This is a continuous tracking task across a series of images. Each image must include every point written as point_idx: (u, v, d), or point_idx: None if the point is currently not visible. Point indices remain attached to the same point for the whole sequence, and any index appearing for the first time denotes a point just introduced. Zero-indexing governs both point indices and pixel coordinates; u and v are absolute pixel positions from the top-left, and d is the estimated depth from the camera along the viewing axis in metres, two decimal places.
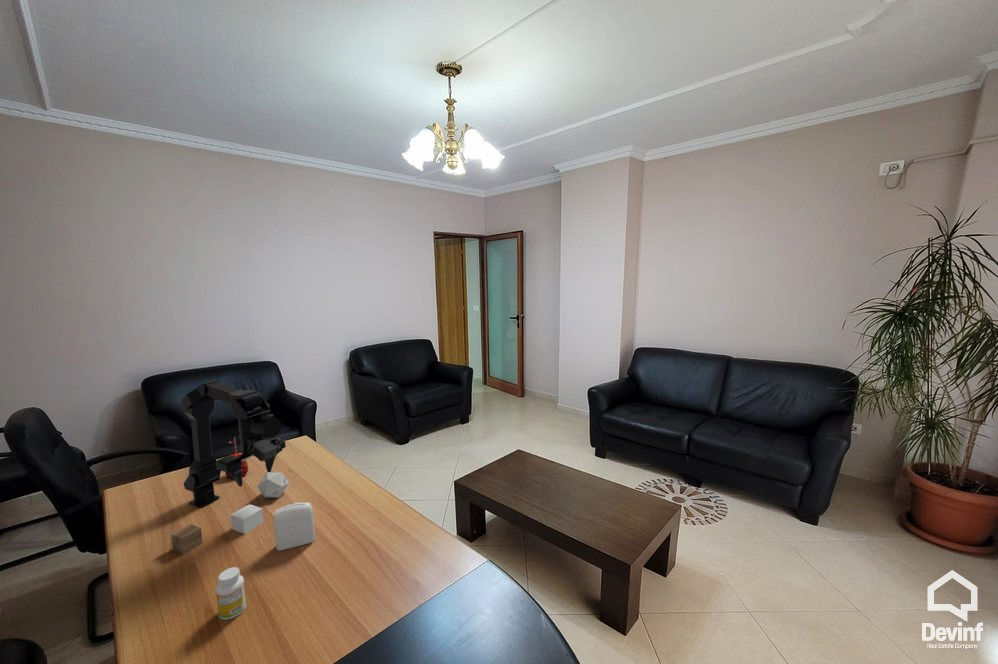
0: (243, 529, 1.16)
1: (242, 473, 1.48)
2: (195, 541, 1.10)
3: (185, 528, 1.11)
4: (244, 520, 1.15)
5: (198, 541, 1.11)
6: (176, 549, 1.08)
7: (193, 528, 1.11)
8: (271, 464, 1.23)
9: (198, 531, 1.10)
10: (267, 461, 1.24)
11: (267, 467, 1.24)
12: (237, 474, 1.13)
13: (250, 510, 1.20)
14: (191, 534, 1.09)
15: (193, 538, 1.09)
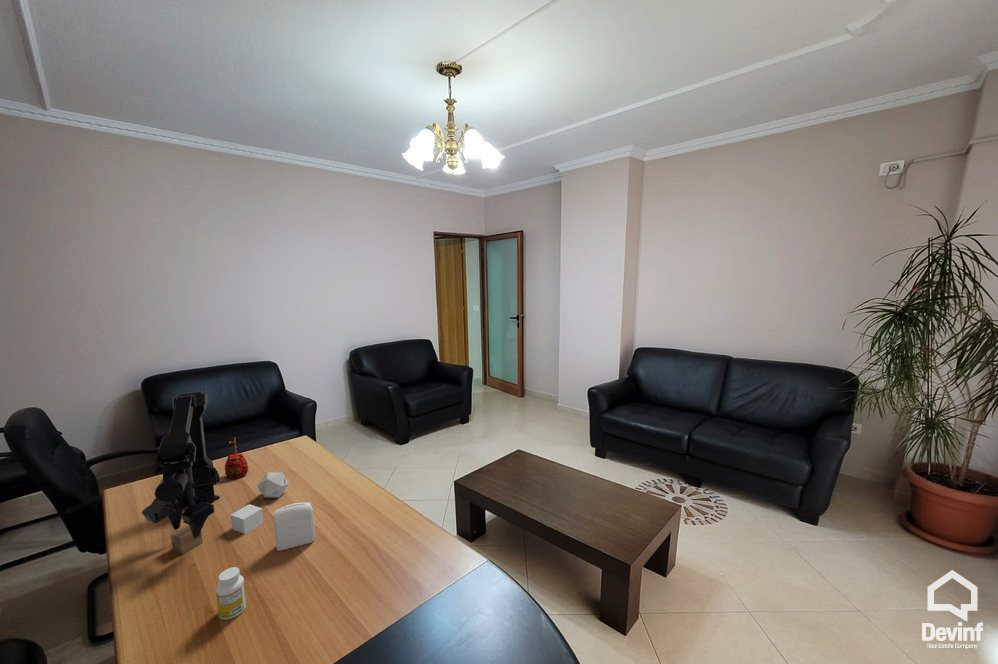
0: (243, 529, 1.16)
1: (242, 473, 1.48)
2: (195, 541, 1.10)
3: (185, 528, 1.11)
4: (244, 520, 1.15)
5: (198, 541, 1.11)
6: (176, 549, 1.08)
7: None
8: (191, 531, 1.07)
9: None
10: None
11: None
12: None
13: (250, 510, 1.20)
14: (191, 534, 1.09)
15: (193, 538, 1.09)
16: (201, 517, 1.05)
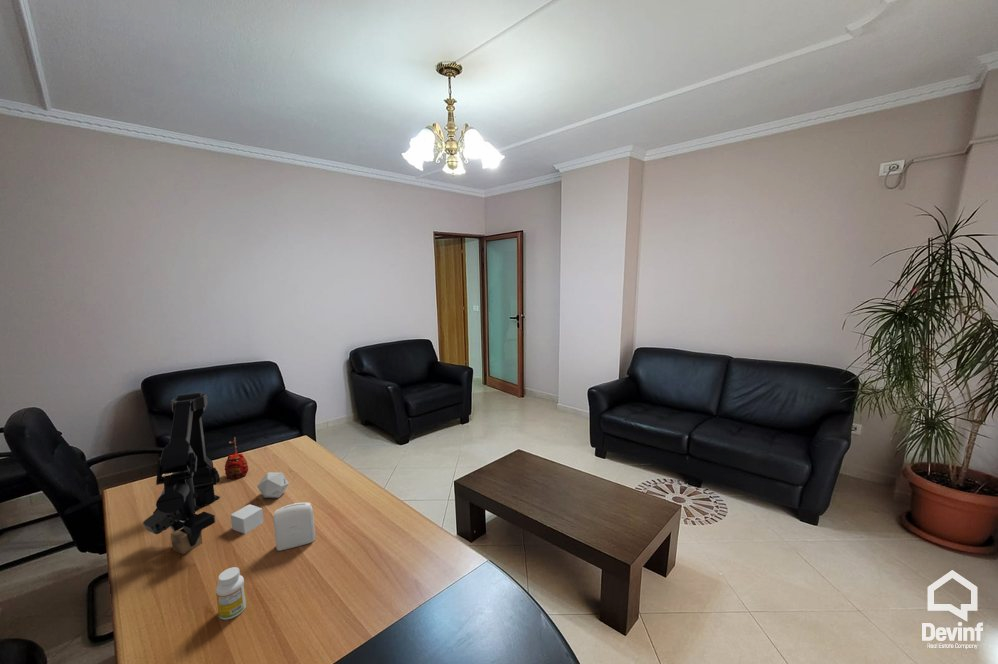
0: (243, 529, 1.16)
1: (242, 473, 1.48)
2: None
3: None
4: (244, 520, 1.15)
5: (198, 541, 1.11)
6: (176, 549, 1.08)
7: None
8: (188, 539, 1.08)
9: None
10: None
11: None
12: (171, 527, 1.10)
13: (250, 510, 1.20)
14: None
15: None
16: (202, 527, 1.05)
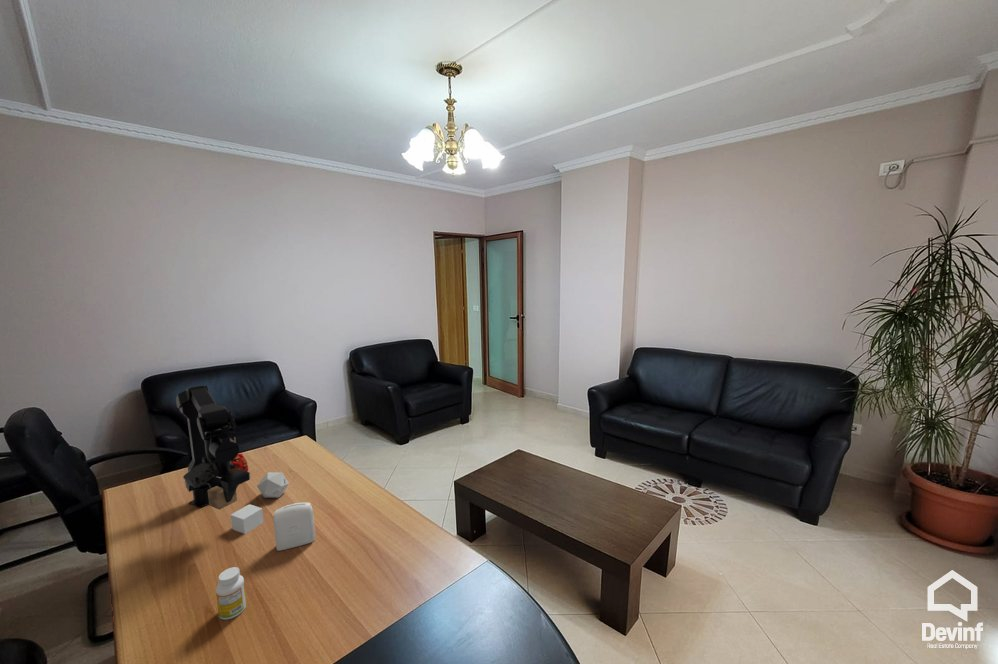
0: (243, 529, 1.16)
1: None
2: None
3: None
4: (244, 520, 1.15)
5: (233, 498, 1.15)
6: (212, 505, 1.13)
7: None
8: (225, 495, 1.12)
9: None
10: None
11: None
12: (208, 484, 1.14)
13: (250, 510, 1.20)
14: None
15: None
16: (238, 483, 1.09)
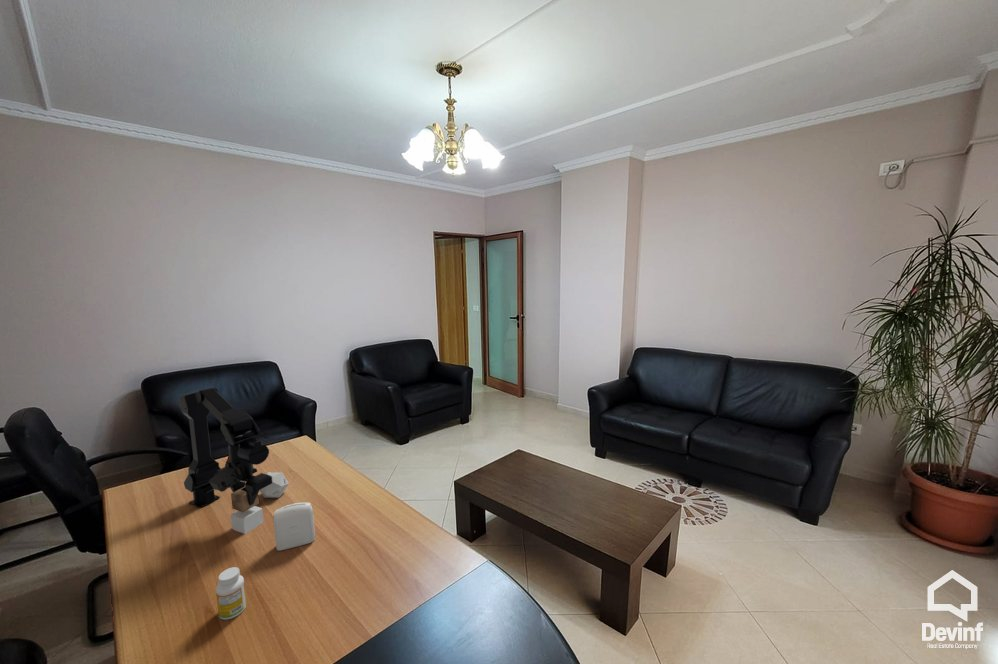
0: (243, 529, 1.16)
1: None
2: None
3: None
4: (244, 520, 1.15)
5: (255, 501, 1.19)
6: (236, 508, 1.17)
7: None
8: (248, 498, 1.16)
9: None
10: None
11: None
12: None
13: (250, 510, 1.20)
14: None
15: None
16: (262, 487, 1.13)
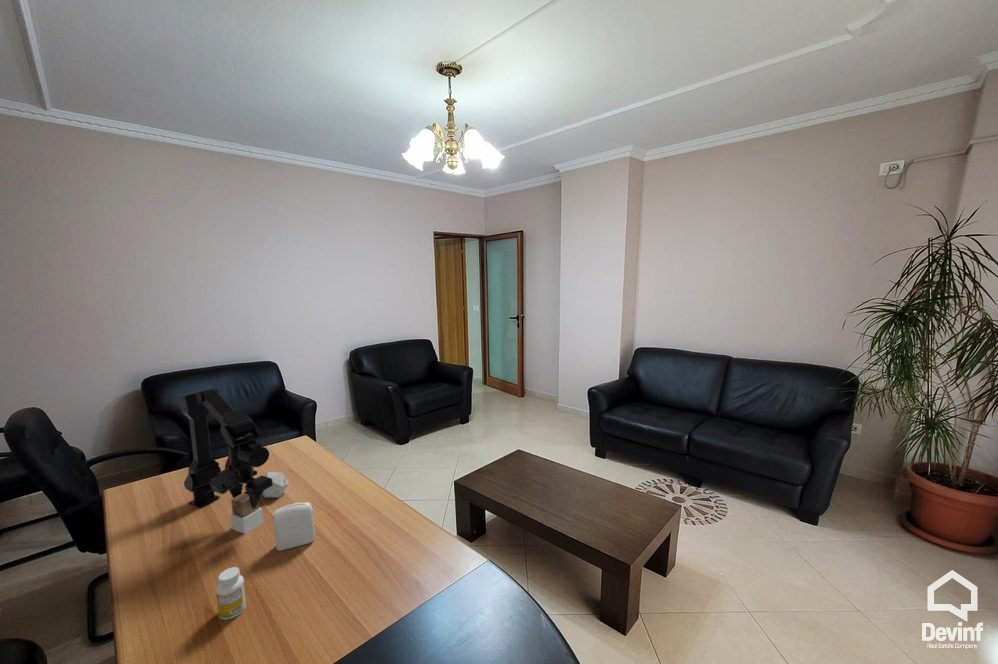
0: (243, 529, 1.16)
1: None
2: None
3: (243, 494, 1.19)
4: (244, 520, 1.15)
5: None
6: (236, 513, 1.17)
7: None
8: (251, 501, 1.16)
9: None
10: None
11: None
12: (228, 489, 1.19)
13: None
14: None
15: None
16: (262, 489, 1.14)
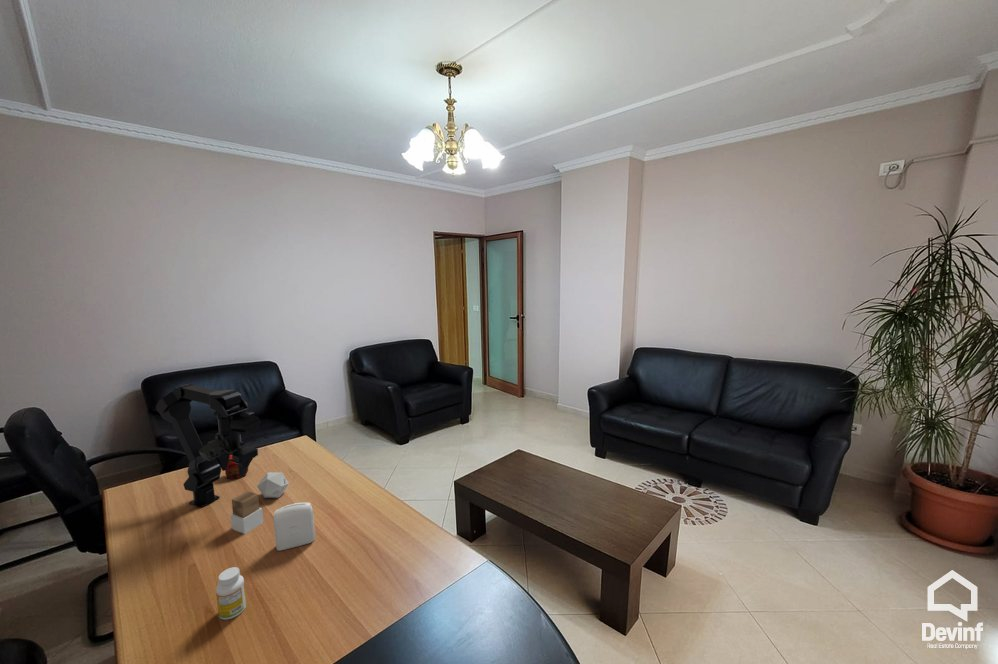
0: (243, 529, 1.16)
1: None
2: (253, 506, 1.18)
3: (244, 494, 1.19)
4: (244, 520, 1.15)
5: (256, 507, 1.19)
6: (236, 513, 1.17)
7: (251, 494, 1.19)
8: (239, 470, 1.23)
9: (256, 497, 1.19)
10: None
11: None
12: (216, 457, 1.27)
13: None
14: (250, 499, 1.17)
15: (251, 503, 1.18)
16: (248, 458, 1.21)
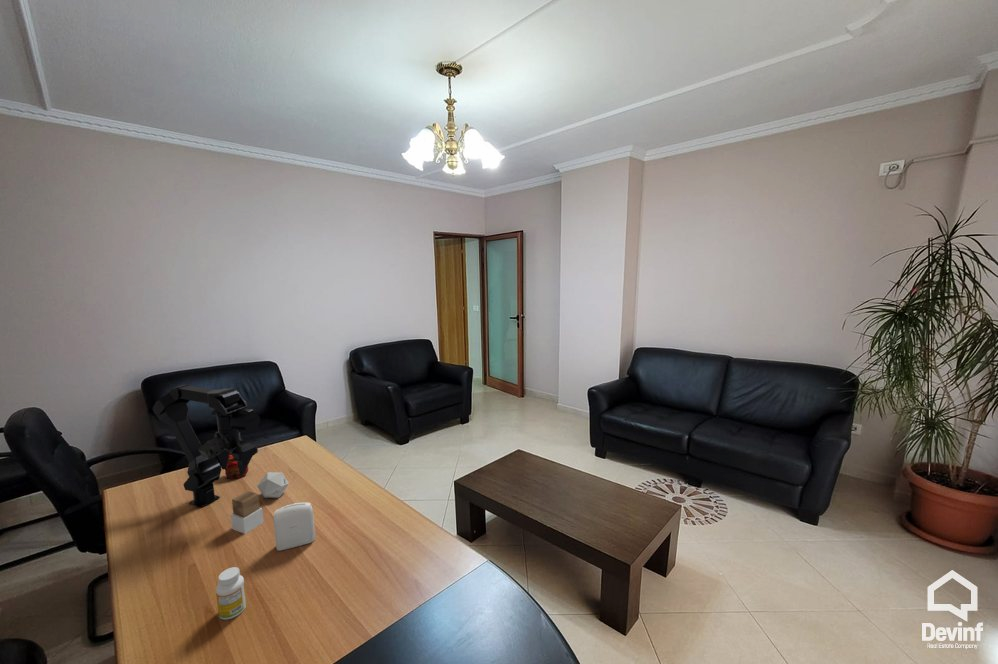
0: (243, 529, 1.16)
1: None
2: (253, 505, 1.18)
3: (244, 494, 1.19)
4: (244, 520, 1.15)
5: (256, 507, 1.19)
6: (237, 513, 1.17)
7: (251, 494, 1.19)
8: (239, 468, 1.24)
9: (256, 497, 1.19)
10: None
11: None
12: (215, 456, 1.28)
13: None
14: (250, 499, 1.17)
15: (252, 503, 1.18)
16: (248, 455, 1.22)
